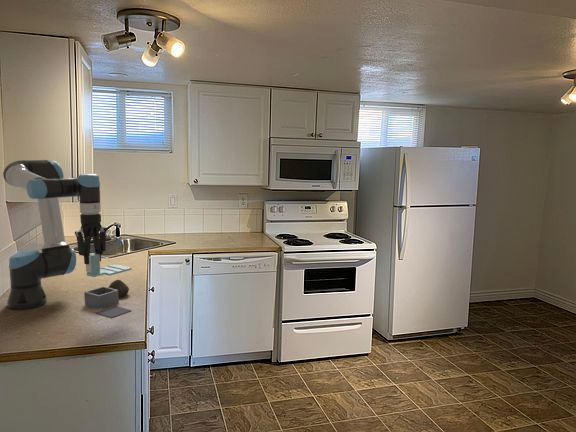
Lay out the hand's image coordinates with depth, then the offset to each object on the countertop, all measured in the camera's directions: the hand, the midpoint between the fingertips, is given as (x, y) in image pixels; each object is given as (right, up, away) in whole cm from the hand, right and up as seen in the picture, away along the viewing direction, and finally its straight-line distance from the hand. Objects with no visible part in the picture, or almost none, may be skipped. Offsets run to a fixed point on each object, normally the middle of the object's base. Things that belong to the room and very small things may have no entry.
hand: (93, 270), depth 180 cm
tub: (-5, -18, +21) cm, 27 cm away
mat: (+4, -19, +11) cm, 22 cm away
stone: (-2, -16, +33) cm, 37 cm away
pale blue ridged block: (+3, -1, +6) cm, 7 cm away
